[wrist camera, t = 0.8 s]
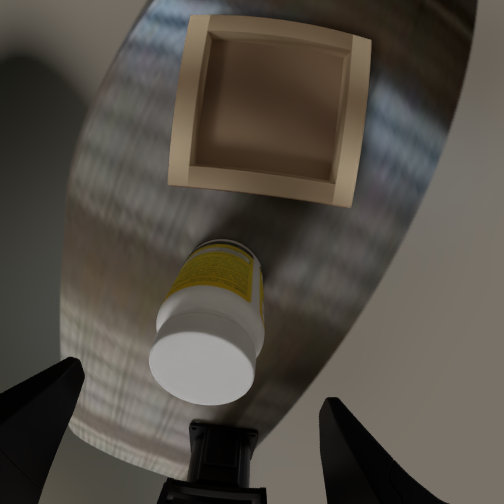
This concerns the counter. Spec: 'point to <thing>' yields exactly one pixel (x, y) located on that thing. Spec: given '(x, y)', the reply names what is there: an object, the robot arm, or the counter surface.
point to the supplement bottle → (211, 325)
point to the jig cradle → (270, 109)
